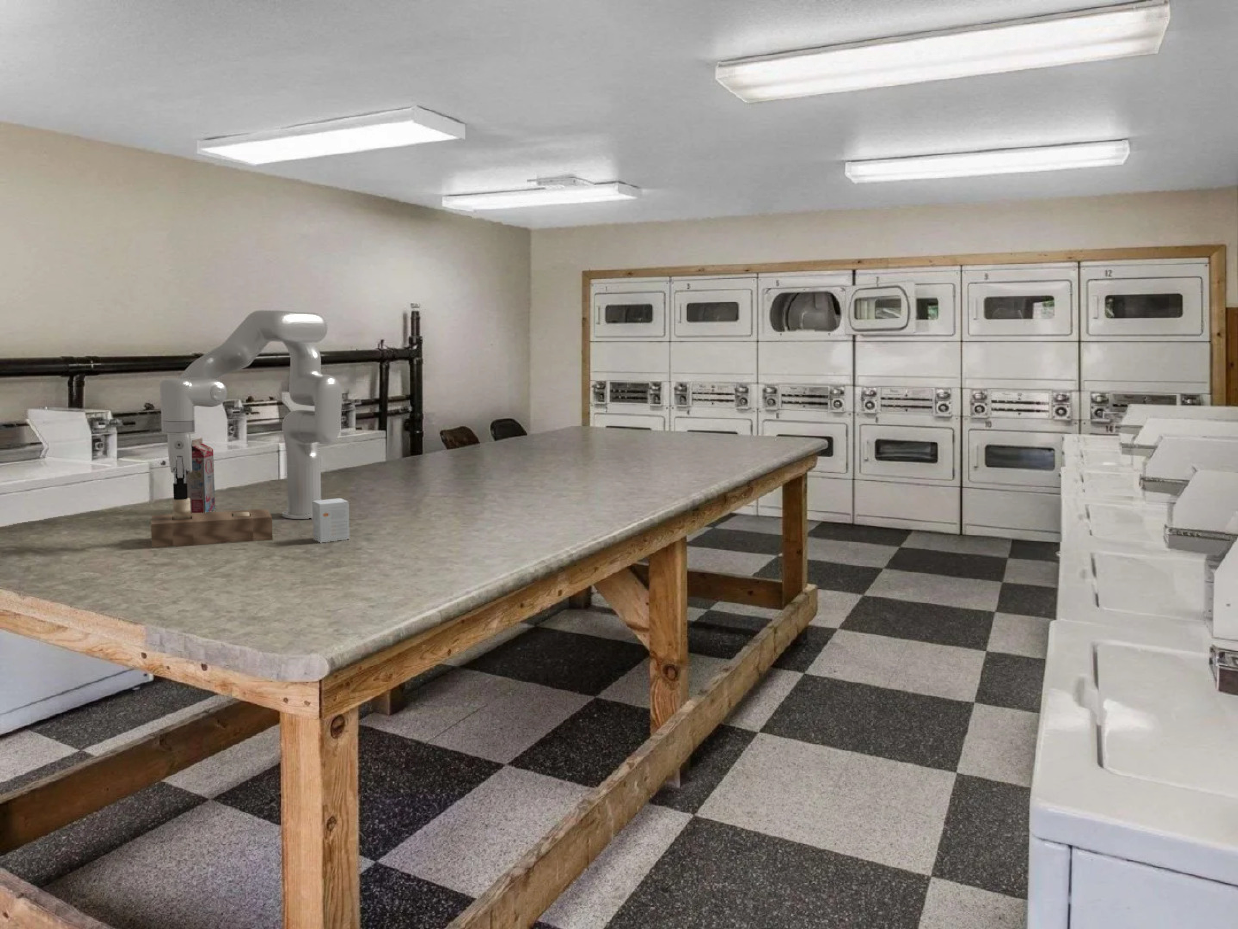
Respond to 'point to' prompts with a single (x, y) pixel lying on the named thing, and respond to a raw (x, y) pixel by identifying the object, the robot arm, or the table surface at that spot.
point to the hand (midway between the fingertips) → (180, 498)
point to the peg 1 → (181, 509)
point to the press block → (211, 528)
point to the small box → (330, 520)
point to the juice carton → (201, 478)
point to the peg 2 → (240, 514)
